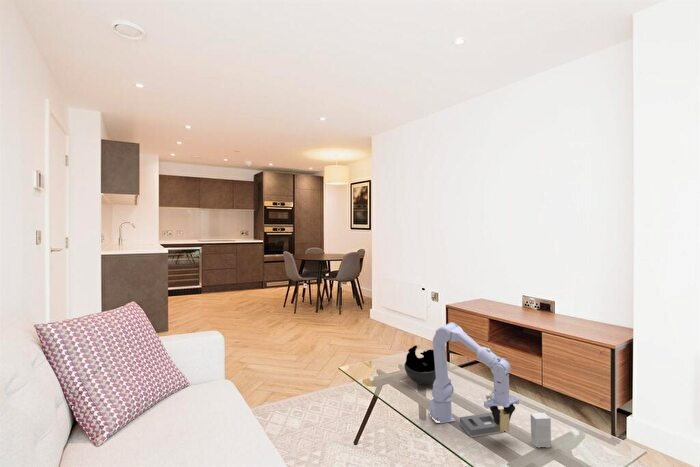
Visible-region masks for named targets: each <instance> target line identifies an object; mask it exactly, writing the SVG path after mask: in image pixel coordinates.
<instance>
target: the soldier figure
mask: <svg viewBox="0 0 700 467" xmlns="http://www.w3.org/2000/svg"><path fill="white" fill-rule="evenodd" d="M493 398H494V389H493V390H492V391H491V392H490V393H489V395H485V399H486V401H488V400H491V399H493Z"/></svg>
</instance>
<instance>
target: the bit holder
mask: <svg viewBox="0 0 700 467" xmlns="http://www.w3.org/2000/svg"><path fill="white" fill-rule="evenodd" d="M459 424H460V426H461V427H462V428H463V429H464V430H465V431H466V433H467V434H468V436H469V437H470V438H474V437H482V436H487V435H494V434H500V431H499V430H498V429H497V428H496V427H495V422H494V417H493V414H492V412H486V413H485V412H484V413H480V414H472V415H465V416H460V417H459Z"/></svg>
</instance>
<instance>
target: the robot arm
mask: <svg viewBox="0 0 700 467" xmlns="http://www.w3.org/2000/svg"><path fill="white" fill-rule="evenodd" d="M449 341H450V343H451V342H452V343H455V342H456V343H458V342H459V343H461V344H462V345H464V346H466V347H467V348H468V349H470V350H471V351H472V352H474V353H475V355H476V358H477V360H479V361H480V362H482V363H483V364H484V365H485V366H487V367H488V368H489V369H490V371H491V373H492V375H493V390H494V393H493V395H494V398H493V399H488V400H485V401H483V407H484V408H485V409H490V411H491V412H490V413H492V414H493V417H494V422H495V423H496V424H497V425H499V415H500V410H499V409H500V408H499V407H503V409H504V410H505V411H507V412H508V413H509V422H510V421H511V418H512V415H513V413H514V412H515V411H516V406H515V404H516V405H519V404H520V399H519V398H518V397H516V396H515V397H512V396H511V397H510V380H509V379H510V374H509V373H510V371H511V370H512V365H511V363H510V362H509V361H508V360H507V359H506V358H504V357H500V356H498V355H497V354H495V353H494V352H492V351H491V349H490V348H489V347H486V346H481V345H479V344H478V343H477V342H476V341H475V340H474V339H473V338H472V337H471V336H469V335H468V334H467V333H466V332H465V331H464V330H463V329H462V327H461V326H459V325H458V324H457V323H455V322H454V321H453V322H451V321H450V322H448V323H446V324H445V325H443V326H440V327H439V328H437V329H436V330H435V334H434V336H433V338H432V347H433V349H432V350H434V362H435V374H436V379H435V381H434V382H433V384H432V390H431V396H432V397H433V399H431V400H429V402H428V404H429V405H428V406H429V407H428V408H429V414H430V415H431V417H433V418H434V419H435V420H437V421H440V424H445V423H453V422H456V419H455V418H454V417H453V416H452V412H453V411H452V394H453V393H454V390H455V389H454V386H453V383H452V380H451V378H449V373H448V360H447V349H446V347H447V346H446V343H447V342H449ZM431 417H430V418H431Z"/></svg>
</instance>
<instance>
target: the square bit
mask: <svg viewBox="0 0 700 467" xmlns="http://www.w3.org/2000/svg"><path fill="white" fill-rule="evenodd" d="M498 409H499V410H500V415H499V425H497V424H496V423H495V427H496V428H497V429H498V430H499V431H500V432H501V433H505V432H504V431H506V432H508V431H510V421H509V413H508V412H507V411H505V410H504V408H498Z"/></svg>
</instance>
